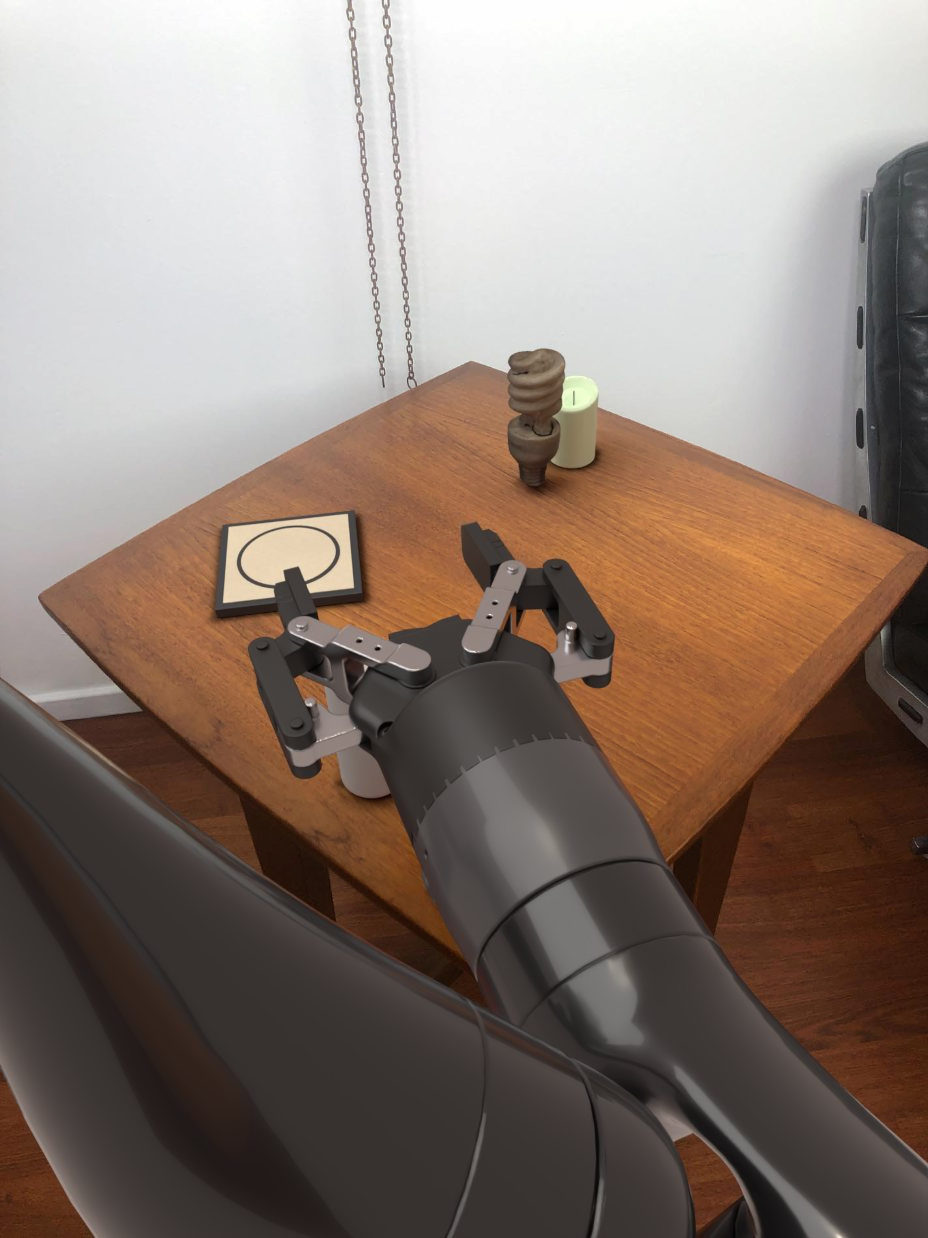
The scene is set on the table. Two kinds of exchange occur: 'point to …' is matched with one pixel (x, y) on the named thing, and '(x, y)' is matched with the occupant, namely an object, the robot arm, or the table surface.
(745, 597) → the table surface
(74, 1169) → the robot arm
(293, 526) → the black and cream coaster
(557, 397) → the light bulb
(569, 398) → the candle
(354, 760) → the beverage can
